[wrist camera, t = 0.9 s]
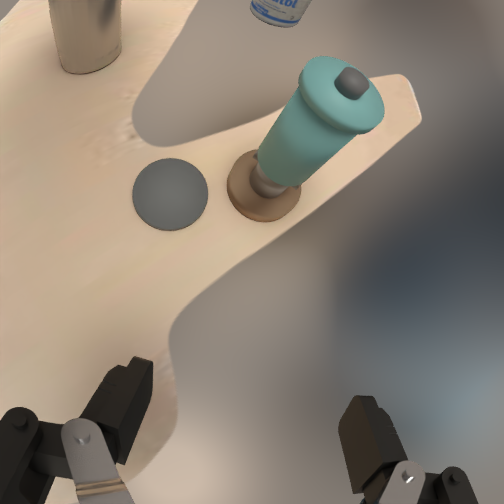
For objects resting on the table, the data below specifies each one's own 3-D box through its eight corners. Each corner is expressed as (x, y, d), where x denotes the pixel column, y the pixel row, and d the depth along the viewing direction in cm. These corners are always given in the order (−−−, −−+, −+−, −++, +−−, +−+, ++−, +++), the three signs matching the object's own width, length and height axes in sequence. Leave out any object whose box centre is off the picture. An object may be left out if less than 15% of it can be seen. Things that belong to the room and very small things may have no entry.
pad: (117, 201, 29) (117, 199, 28) (165, 148, 31) (165, 145, 31) (177, 246, 30) (177, 244, 29) (221, 188, 32) (222, 186, 32)
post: (212, 192, 32) (226, 162, 25) (251, 145, 34) (271, 112, 28) (272, 236, 33) (299, 217, 26) (304, 185, 35) (334, 160, 29)
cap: (240, 161, 26) (296, 67, 14) (274, 122, 28) (333, 35, 16) (296, 203, 26) (382, 135, 15) (324, 160, 28) (402, 90, 17)
